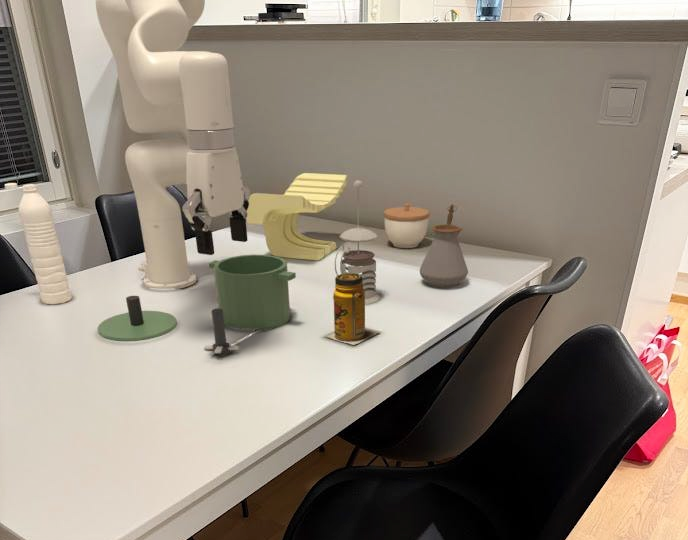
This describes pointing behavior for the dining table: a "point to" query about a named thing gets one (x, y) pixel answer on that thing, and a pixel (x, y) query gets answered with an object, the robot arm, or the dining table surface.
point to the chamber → (253, 291)
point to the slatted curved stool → (295, 214)
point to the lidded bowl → (406, 225)
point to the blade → (220, 335)
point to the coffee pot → (444, 257)
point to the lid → (136, 323)
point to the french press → (360, 257)
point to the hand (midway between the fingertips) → (223, 247)
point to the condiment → (350, 310)
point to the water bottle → (43, 245)
